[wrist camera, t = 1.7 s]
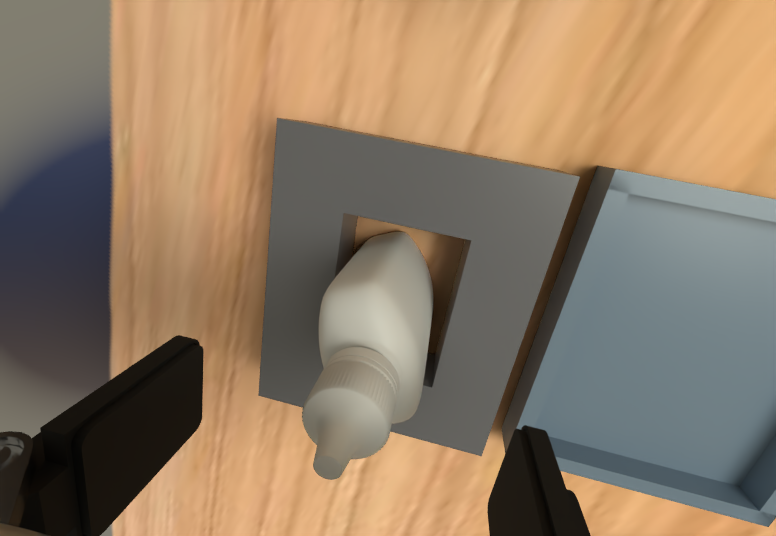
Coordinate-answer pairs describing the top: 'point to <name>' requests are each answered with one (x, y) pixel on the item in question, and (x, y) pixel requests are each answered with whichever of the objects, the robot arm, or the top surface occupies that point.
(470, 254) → the bottle holder
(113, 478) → the robot arm
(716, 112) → the top surface
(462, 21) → the top surface
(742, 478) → the parts tray
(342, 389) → the eye dropper bottle
